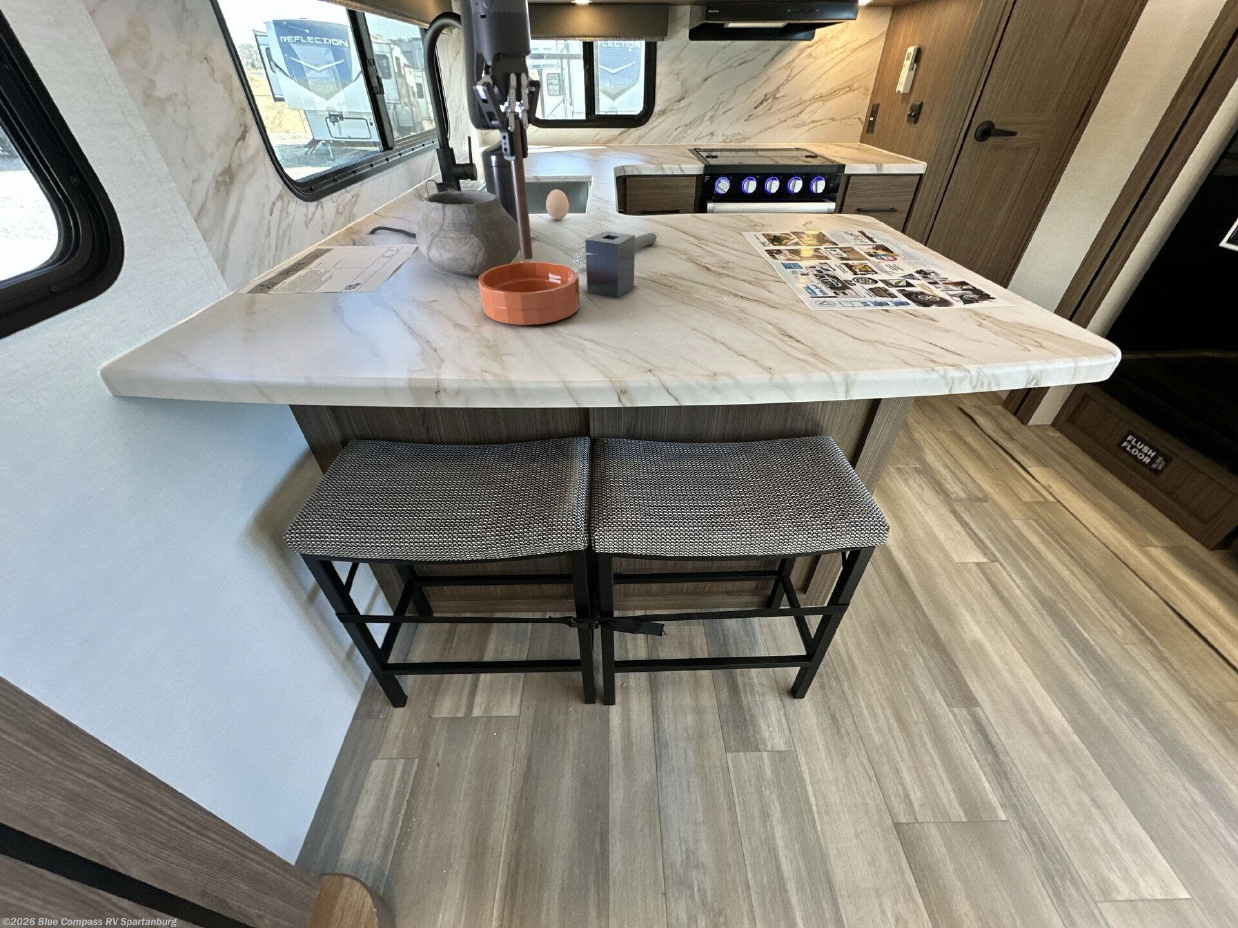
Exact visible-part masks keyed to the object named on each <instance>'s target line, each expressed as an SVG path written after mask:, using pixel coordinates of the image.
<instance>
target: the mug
mask: <svg viewBox="0 0 1238 928" xmlns="http://www.w3.org/2000/svg"><path fill="white" fill-rule="evenodd" d="M428 182H434V184H435V188H436V190H437V193H439V192H444V191H458V188H457V186H456V183H455V182H453V181H441V182H437V181H436V180H435V179H427V180H426V181H425V189H426V192H427V197H428V196H430V193H429V190H428V189H429V188H428V186H427V183H428Z"/></svg>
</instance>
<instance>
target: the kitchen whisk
mask: <svg viewBox="0 0 1238 928" xmlns="http://www.w3.org/2000/svg"><path fill="white" fill-rule="evenodd" d="M658 236H659V235H658V233H657V232H656V231H655V232H648V233H647V232H646V233H644V234H640V235H637V236H636V235H635V250H638V249H641V248H643V247H647V246H650V245H653V244H654V243H655V242H656V241H657V238H658ZM583 243H585V240H584V241H582V242H581V243H580V244H579V245H578V246H577V248H576V249H574V250H573V252H572V256H573V258H574V259H575V260H574V261H572V262H571V263H576V268H577V270H579V271H581V272H583V271H584V272H586V273H587V270H586V268H585V269H584V268H583V267H582V265H585V266H586V263H584V262H582V261H584V260H586V256H585V257H583V258H581V257H582V254H583V253H584V252H585V251H586V246H582V247H580V246H581V244H583ZM580 249H583V250H582V251H581V253H580V254H579V256H578V251H579V250H580ZM575 252H576V253H575ZM574 253H575V254H576V256H575V255H574ZM578 264H579V266H580V268H581V269H580V268H579V266H578ZM581 264H582V265H581Z"/></svg>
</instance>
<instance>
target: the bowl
mask: <svg viewBox="0 0 1238 928" xmlns="http://www.w3.org/2000/svg"><path fill="white" fill-rule="evenodd" d="M579 278H580V277H579V273H578V271H577V270H576V269H574V268H573V267H571V266H569V265H566V264H562V263H557V262H551V261H539V260H538V261H536V260H534V261H518V262H511V263H510V264H505V265H501V266H497V267H494V268H492V269H489V270H487V271H485V272H484V273H483V274H481V275H479V276H478V281H477V282H478V288H479V294H480V300H481V307H482V312H483V313H484V314H485V315H486V317H488V318H489V319H492V320H493V321H495V322H500V323H504V324H509V325H519V326H520V325H521V326H528V325H529V326H530V325H531V326H532V325H544V324H548V323H549V324H550V323H554V322H558V321H561V320H563V319H567V318H569V317H570V316H572V315H574V314H575V313H577V311H578V310H579V308H580V307H581V302H580V301H581V300H580V299H581V298H580V281H579Z"/></svg>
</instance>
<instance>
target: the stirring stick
mask: <svg viewBox="0 0 1238 928" xmlns="http://www.w3.org/2000/svg"><path fill="white" fill-rule="evenodd" d="M514 126H515V128H514V131H513V132H516V141H517V151H518V159H517V160H515V161H511V160H510V162H511V171H512V180H513V189H514V197H515V206H516V215H517V224H518V232H519V241H520V250H519V251H520V258H521V260H524V261H525V260H526V261H530V260H533V258H534V255H533V243H532V234H531V232H530V230H531V225H530V223H531V222H530V214H529V213H530V212H529V204H528V194H527V193H528V192H527V186H526V185H527V184H526V175H525V164H524V159H523V153H522V143H521V133H520V123H519V120H514Z"/></svg>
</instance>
